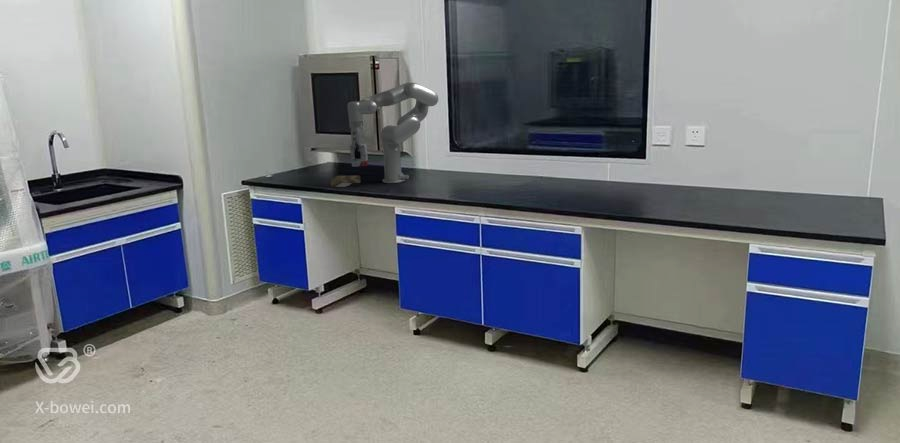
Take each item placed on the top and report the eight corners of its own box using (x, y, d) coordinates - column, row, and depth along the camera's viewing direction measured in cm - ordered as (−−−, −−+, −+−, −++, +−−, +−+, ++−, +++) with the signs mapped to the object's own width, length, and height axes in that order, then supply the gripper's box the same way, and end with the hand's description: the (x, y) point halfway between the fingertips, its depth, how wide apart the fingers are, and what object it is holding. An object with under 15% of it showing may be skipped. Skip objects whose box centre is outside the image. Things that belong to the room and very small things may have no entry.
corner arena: (360, 182, 380) (360, 175, 379) (353, 186, 368) (353, 179, 367) (338, 182, 382) (338, 175, 381) (330, 186, 370) (330, 179, 370)
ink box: (368, 164, 370) (366, 143, 367) (366, 166, 365) (364, 144, 362) (353, 165, 371) (351, 144, 368) (351, 166, 366) (349, 145, 363)
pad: (351, 183, 378) (351, 183, 378) (345, 186, 369) (345, 186, 368) (341, 183, 379) (341, 183, 379) (334, 186, 370) (334, 186, 370)
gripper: (358, 126, 353) (361, 160, 358) (367, 122, 369) (370, 155, 374) (344, 126, 355) (348, 160, 359) (354, 123, 371) (358, 155, 375)
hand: (359, 157), depth 367 cm, fingers closed on ink box, 5 cm apart
